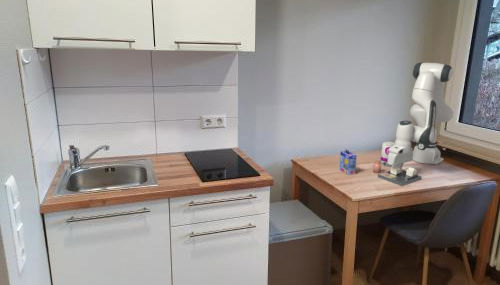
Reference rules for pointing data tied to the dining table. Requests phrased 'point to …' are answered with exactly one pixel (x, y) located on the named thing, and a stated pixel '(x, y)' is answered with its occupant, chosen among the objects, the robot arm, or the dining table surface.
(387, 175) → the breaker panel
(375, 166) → the cap
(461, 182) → the dining table surface
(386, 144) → the supplement can
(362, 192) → the dining table surface
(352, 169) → the ink cartridge box
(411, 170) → the toggle
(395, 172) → the toggle
